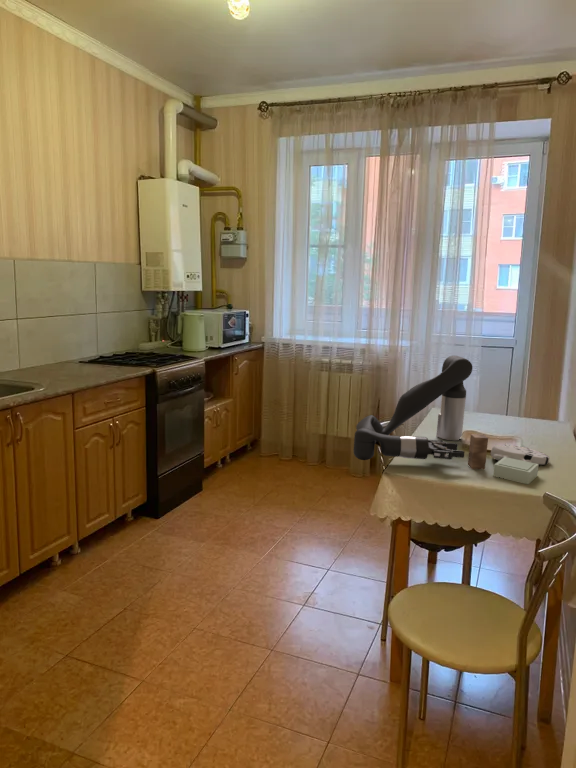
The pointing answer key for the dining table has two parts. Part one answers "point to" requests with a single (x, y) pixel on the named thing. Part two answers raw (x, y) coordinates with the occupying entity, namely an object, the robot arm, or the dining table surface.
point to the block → (477, 451)
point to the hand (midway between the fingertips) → (460, 450)
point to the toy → (519, 454)
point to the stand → (515, 470)
